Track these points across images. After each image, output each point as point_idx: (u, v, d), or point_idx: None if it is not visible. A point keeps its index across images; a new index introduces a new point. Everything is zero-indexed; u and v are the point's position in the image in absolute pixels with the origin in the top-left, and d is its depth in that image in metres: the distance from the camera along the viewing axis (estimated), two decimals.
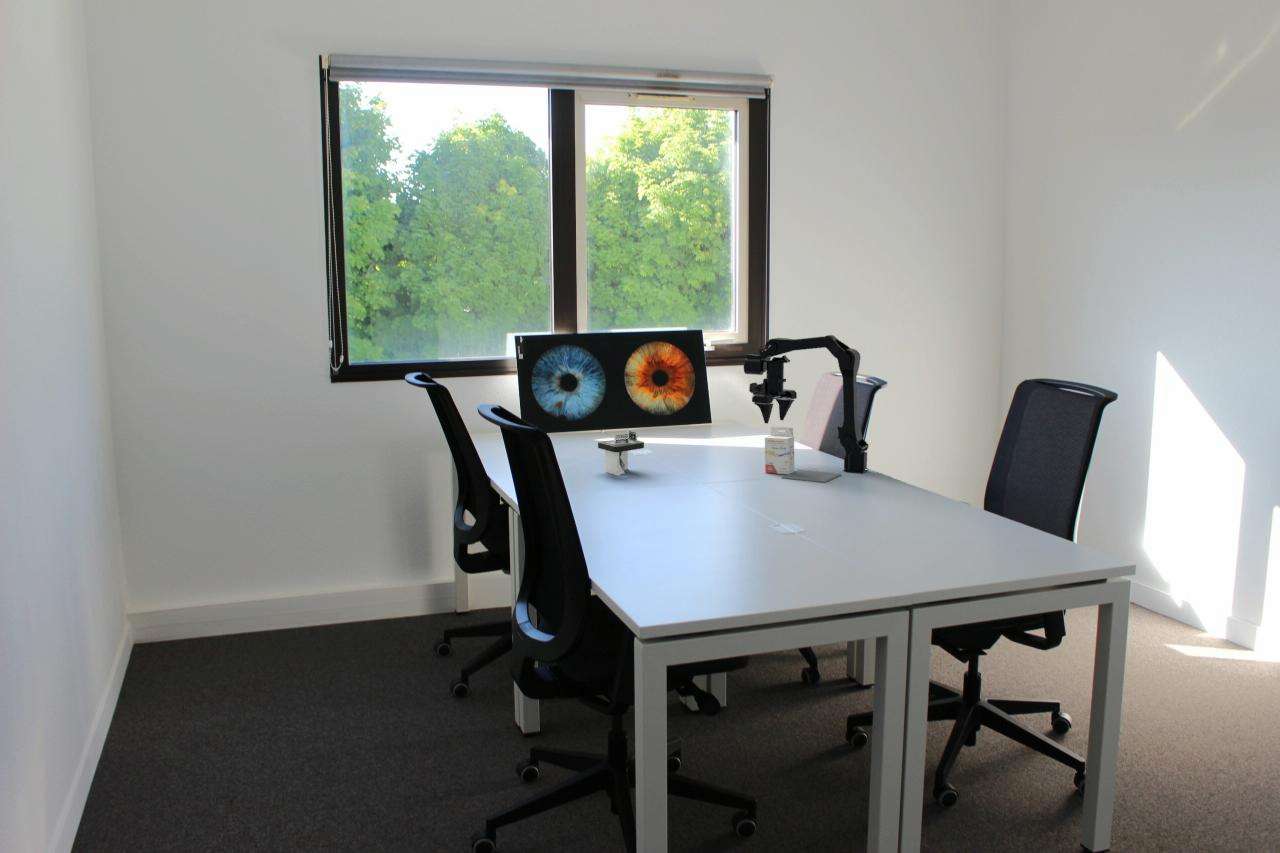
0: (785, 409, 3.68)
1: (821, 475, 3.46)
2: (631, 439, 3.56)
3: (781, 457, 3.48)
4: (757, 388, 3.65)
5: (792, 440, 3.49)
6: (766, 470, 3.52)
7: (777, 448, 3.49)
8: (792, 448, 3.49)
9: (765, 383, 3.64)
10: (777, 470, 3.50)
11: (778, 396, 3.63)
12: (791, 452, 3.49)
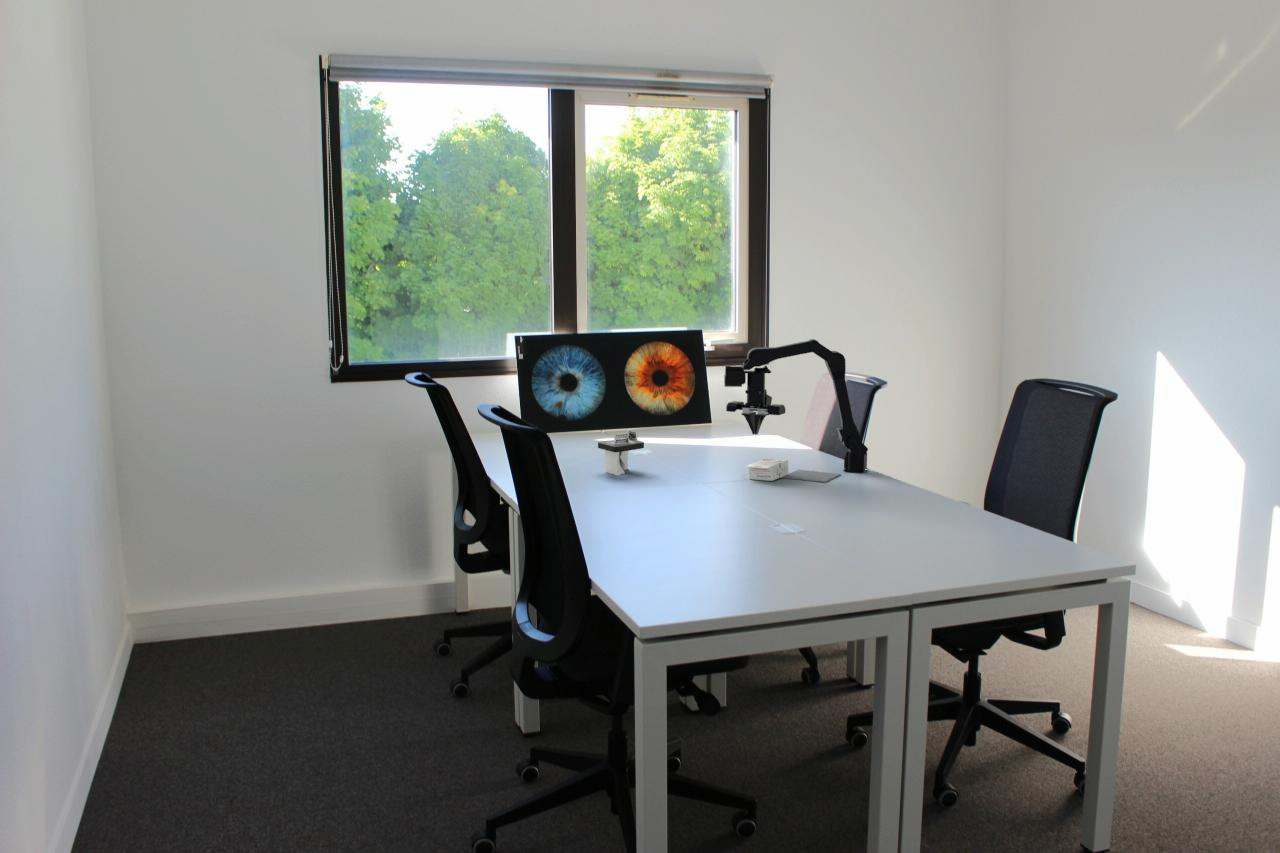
0: None
1: (821, 475, 3.46)
2: (631, 439, 3.56)
3: None
4: None
5: (774, 468, 3.39)
6: None
7: None
8: (777, 468, 3.41)
9: None
10: None
11: (764, 409, 3.50)
12: (779, 471, 3.42)
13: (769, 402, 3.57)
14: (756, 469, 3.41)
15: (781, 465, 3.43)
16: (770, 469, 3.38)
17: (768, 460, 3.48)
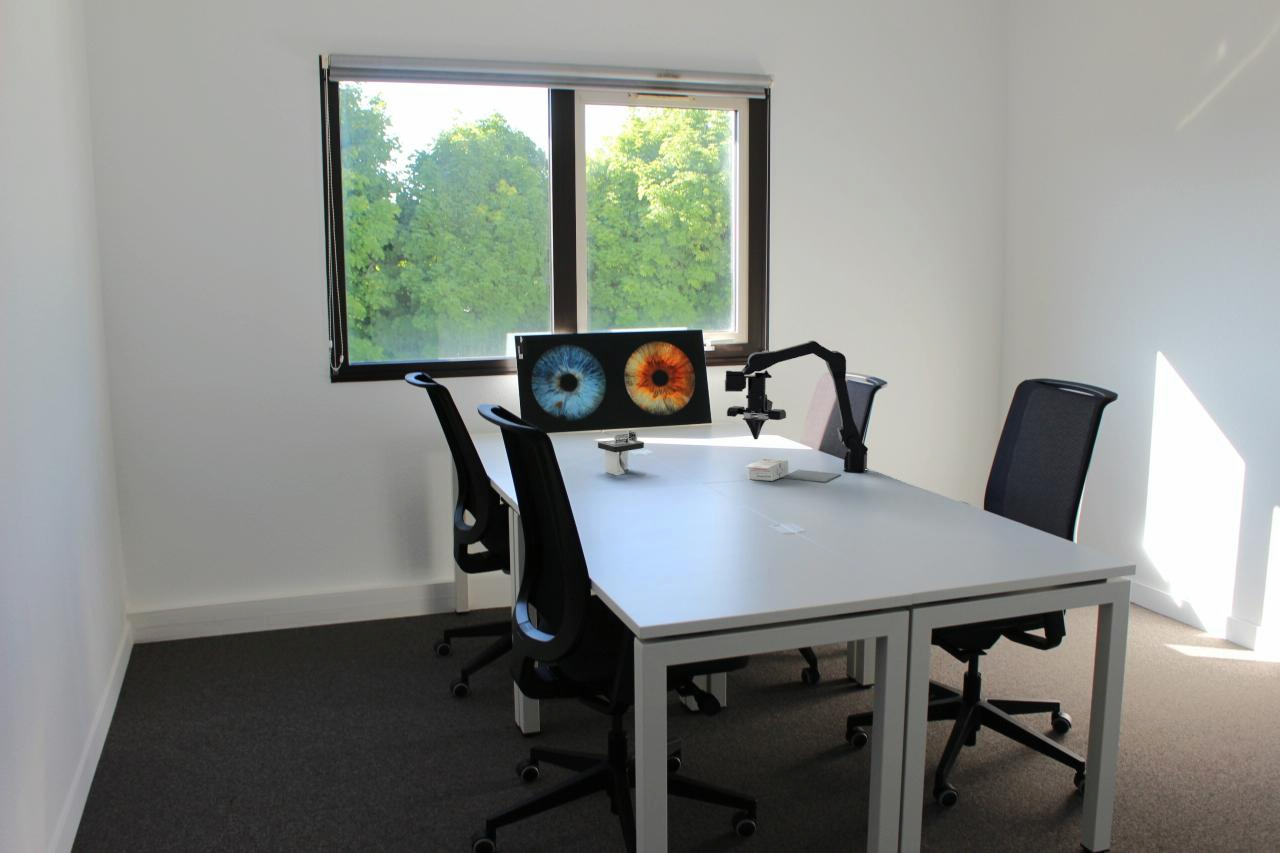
0: None
1: (821, 475, 3.46)
2: (631, 439, 3.56)
3: None
4: None
5: (774, 468, 3.39)
6: None
7: None
8: (777, 468, 3.41)
9: None
10: None
11: (765, 414, 3.50)
12: (779, 471, 3.42)
13: (770, 407, 3.57)
14: (756, 469, 3.41)
15: (781, 465, 3.43)
16: (770, 469, 3.38)
17: (768, 460, 3.48)
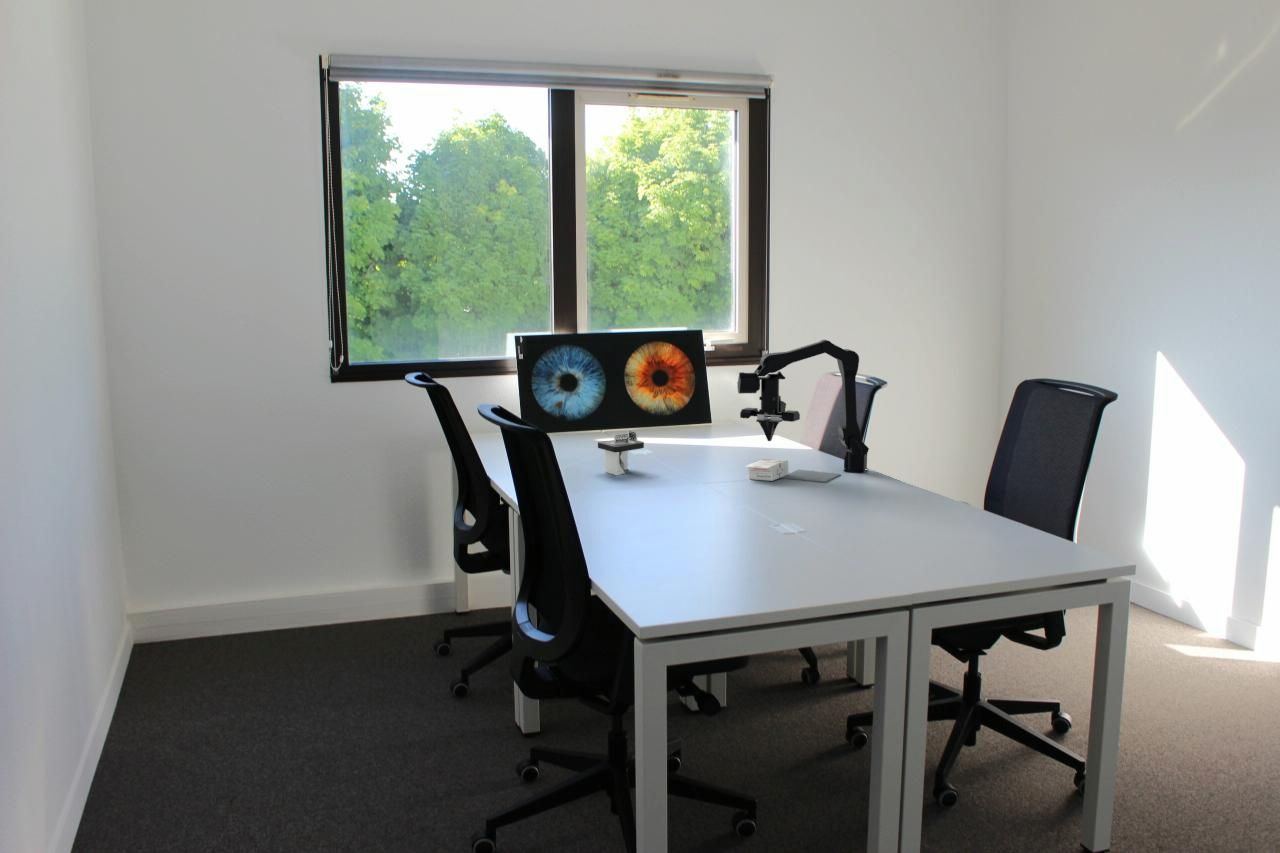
0: None
1: (821, 475, 3.46)
2: (631, 439, 3.56)
3: None
4: None
5: (774, 468, 3.39)
6: None
7: None
8: (777, 468, 3.41)
9: None
10: None
11: (779, 415, 3.48)
12: (779, 471, 3.42)
13: (783, 408, 3.55)
14: (756, 469, 3.41)
15: (781, 465, 3.43)
16: (770, 469, 3.38)
17: (768, 460, 3.48)
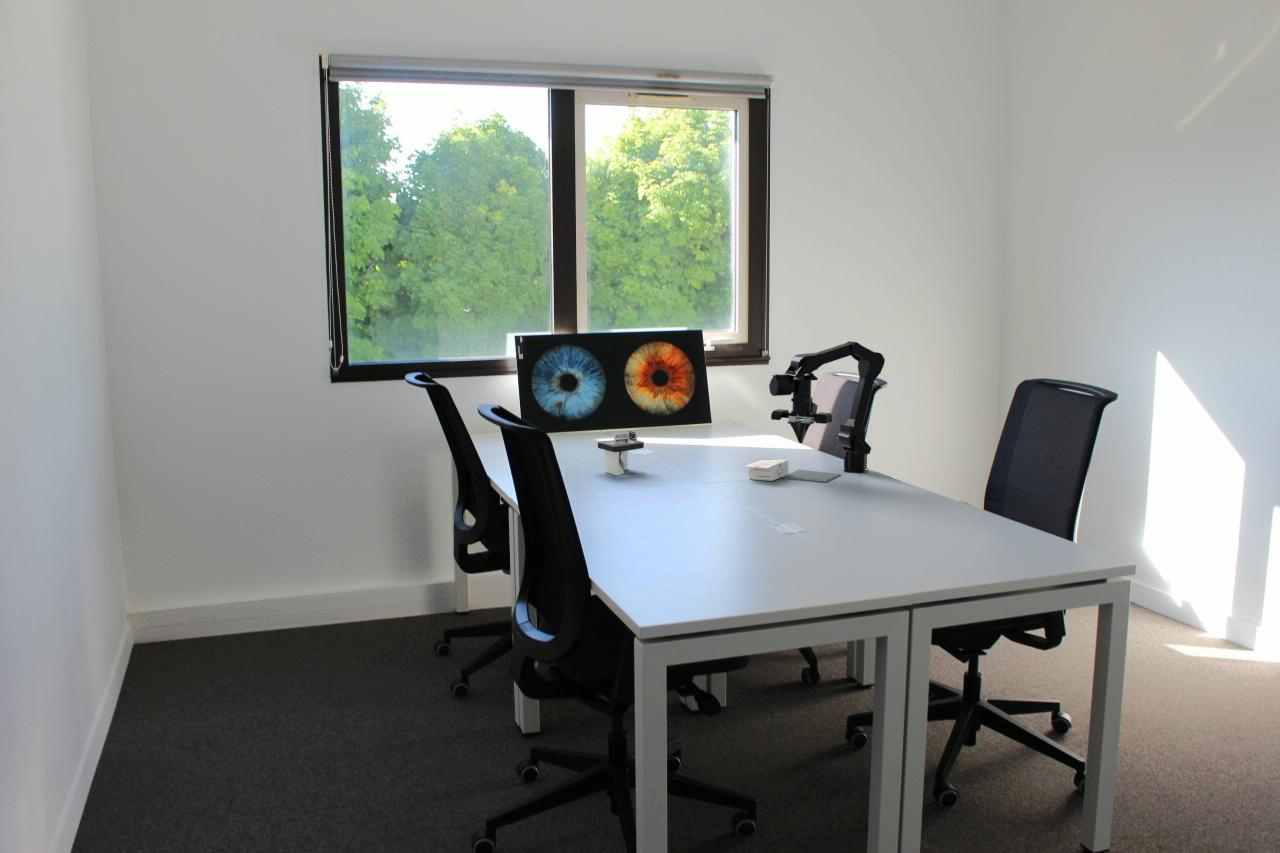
0: None
1: (821, 475, 3.46)
2: (631, 439, 3.56)
3: None
4: None
5: (774, 468, 3.39)
6: None
7: None
8: (777, 468, 3.41)
9: None
10: None
11: (811, 417, 3.42)
12: (779, 471, 3.42)
13: (815, 410, 3.49)
14: (756, 469, 3.41)
15: (781, 465, 3.43)
16: (770, 469, 3.38)
17: (768, 460, 3.48)
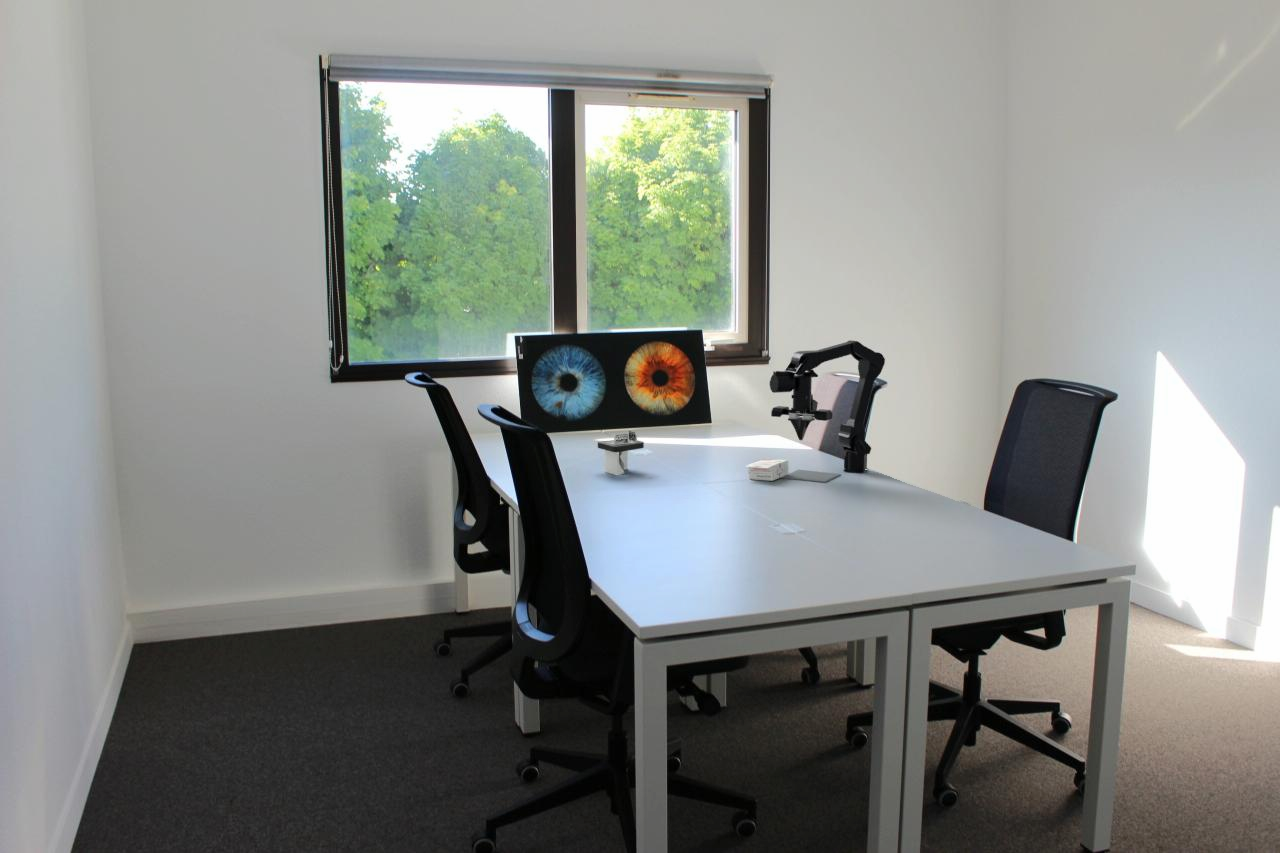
0: None
1: (821, 475, 3.46)
2: (631, 439, 3.56)
3: None
4: None
5: (774, 468, 3.39)
6: None
7: None
8: (777, 468, 3.41)
9: None
10: None
11: (811, 414, 3.42)
12: (779, 471, 3.42)
13: (815, 407, 3.49)
14: (756, 469, 3.41)
15: (781, 465, 3.43)
16: (770, 469, 3.38)
17: (768, 460, 3.48)
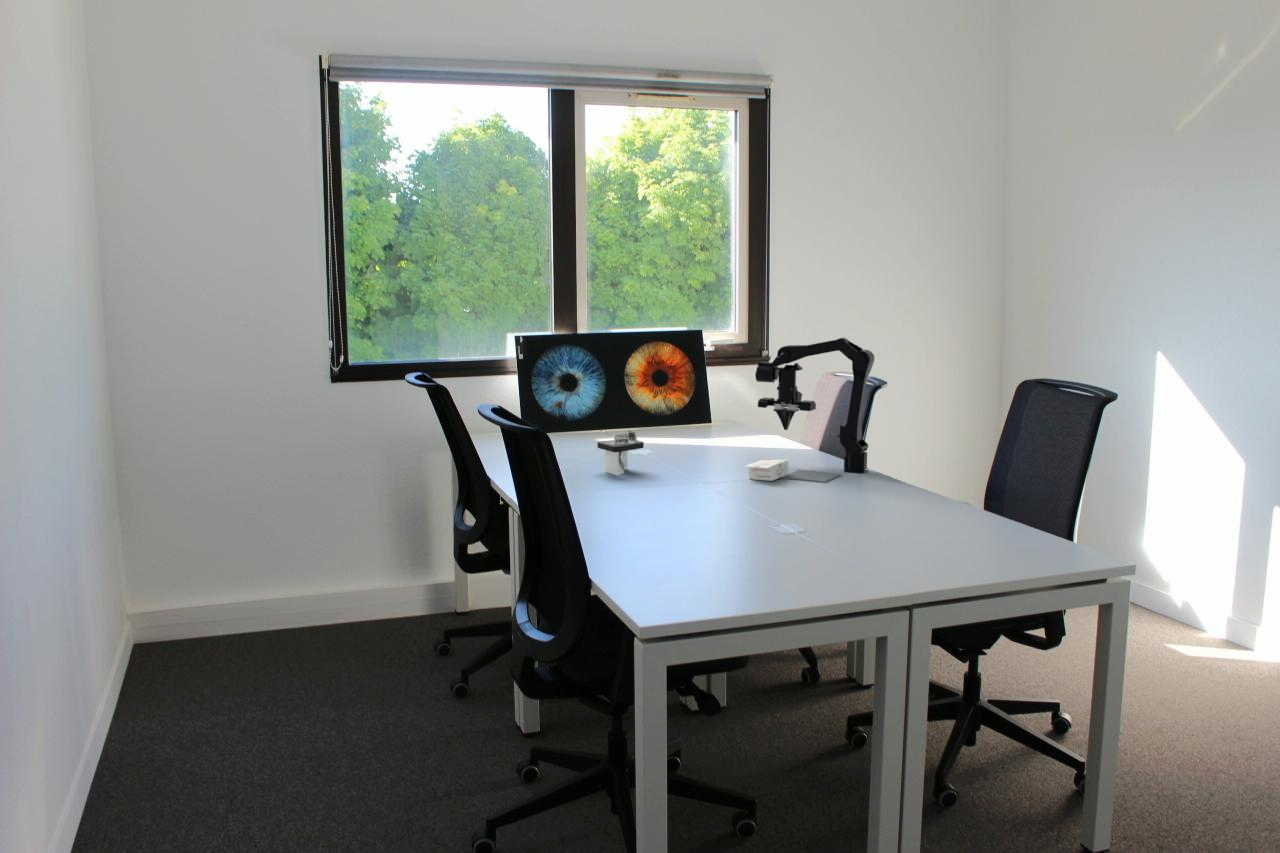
0: None
1: (821, 475, 3.46)
2: (631, 439, 3.56)
3: None
4: None
5: (774, 468, 3.39)
6: None
7: None
8: (777, 468, 3.41)
9: None
10: None
11: (796, 405, 3.59)
12: (779, 471, 3.42)
13: (799, 398, 3.66)
14: (756, 469, 3.41)
15: (781, 465, 3.43)
16: (770, 469, 3.38)
17: (768, 460, 3.48)
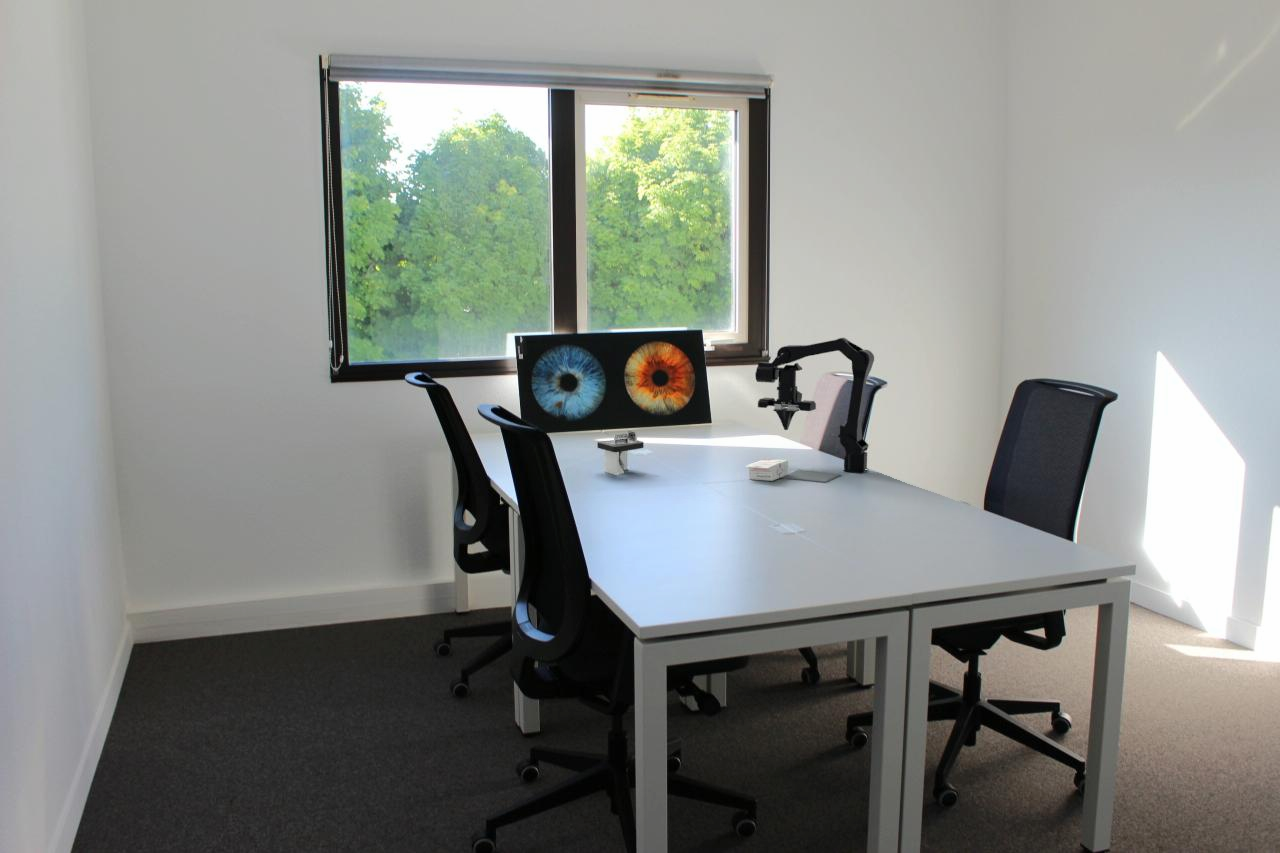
0: None
1: (821, 475, 3.46)
2: (630, 439, 3.56)
3: None
4: None
5: (774, 468, 3.39)
6: None
7: None
8: (777, 468, 3.41)
9: None
10: None
11: (796, 405, 3.59)
12: (779, 471, 3.42)
13: (799, 398, 3.66)
14: (756, 469, 3.41)
15: (781, 465, 3.43)
16: (770, 469, 3.38)
17: (768, 460, 3.48)
